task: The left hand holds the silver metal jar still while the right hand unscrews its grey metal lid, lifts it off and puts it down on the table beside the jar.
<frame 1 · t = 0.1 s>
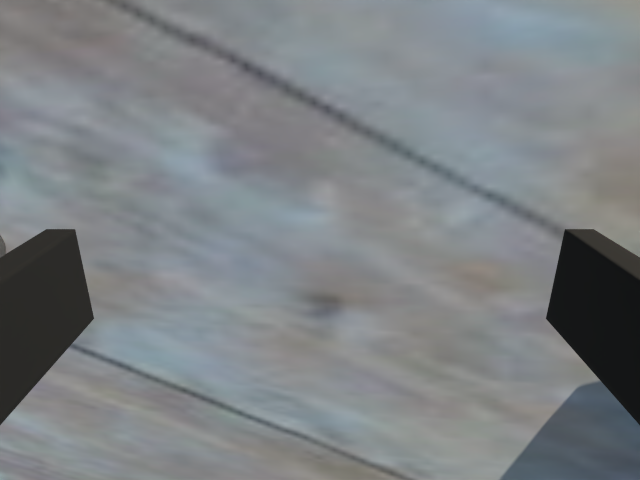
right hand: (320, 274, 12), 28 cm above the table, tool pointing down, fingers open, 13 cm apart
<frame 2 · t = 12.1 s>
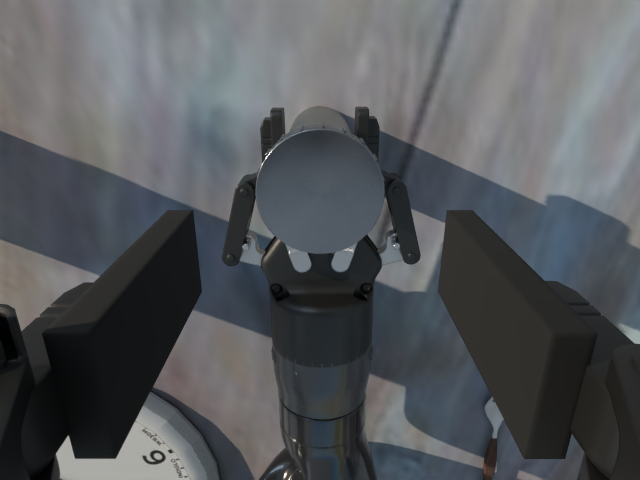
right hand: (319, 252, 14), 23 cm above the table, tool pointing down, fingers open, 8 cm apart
left hand: (320, 109, 28), fingers closed on jar, 4 cm apart
jar: (320, 137, 35), on the table, touching left hand
lid: (320, 192, 20), point 16 cm above the table, screwed on, not yet turned
fork: (490, 440, 46), on the table
wall clock: (80, 479, 48), on the table
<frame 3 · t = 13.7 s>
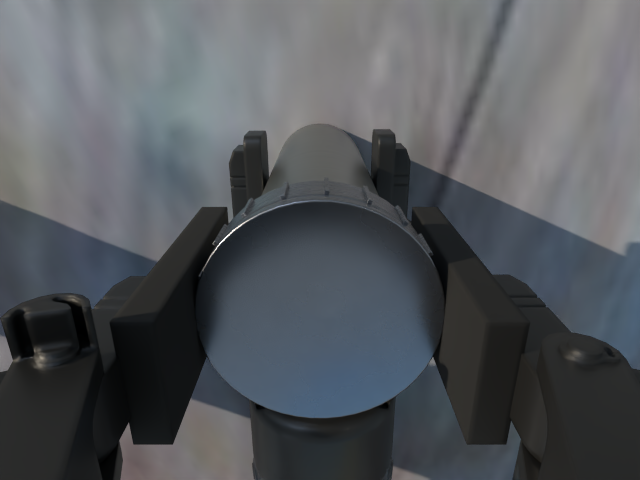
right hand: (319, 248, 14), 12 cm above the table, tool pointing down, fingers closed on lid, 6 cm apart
jar: (320, 165, 25), on the table, touching left hand
lid: (319, 312, 11), point 16 cm above the table, screwed on, not yet turned, touching right hand
when the right hand's fingers open (12 cm above the table, at t = 15.1 s): lid stays where it is, point 16 cm above the table.
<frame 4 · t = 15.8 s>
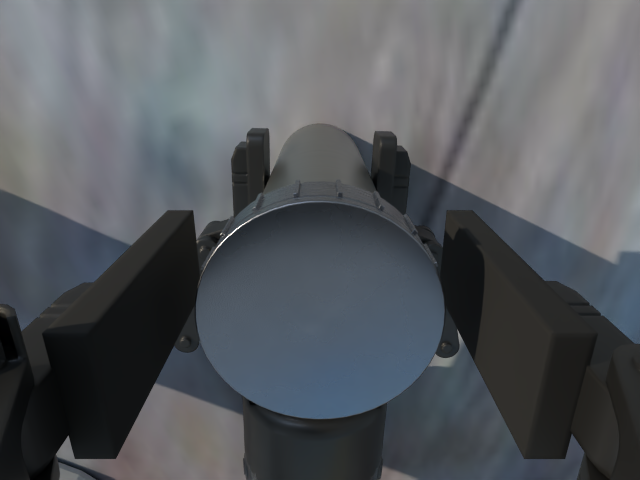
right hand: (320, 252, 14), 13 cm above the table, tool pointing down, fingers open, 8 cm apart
jar: (320, 165, 26), on the table, touching left hand
lid: (320, 313, 11), point 16 cm above the table, turned 72° so far, risen 0.2 cm, still on its thread
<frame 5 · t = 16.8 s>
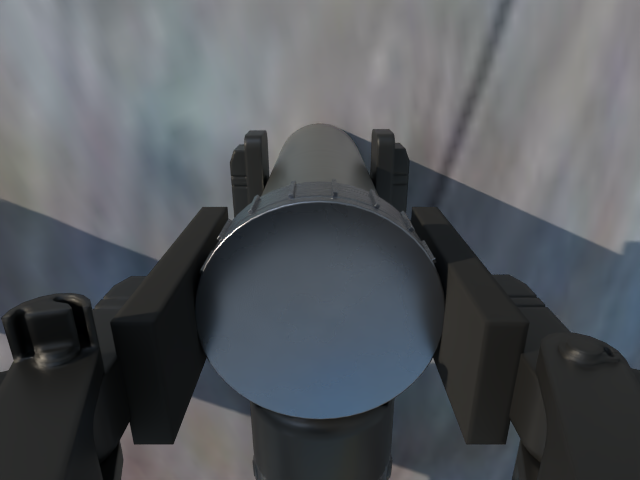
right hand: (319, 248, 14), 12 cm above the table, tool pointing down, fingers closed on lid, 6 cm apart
jar: (319, 165, 26), on the table, touching left hand
lid: (319, 313, 11), point 16 cm above the table, turned 72° so far, risen 0.2 cm, still on its thread, touching right hand
when the right hand's fingers open (0 cm above the table, at t = 23.9 s): lid drops 3 cm, point 1 cm above the table.
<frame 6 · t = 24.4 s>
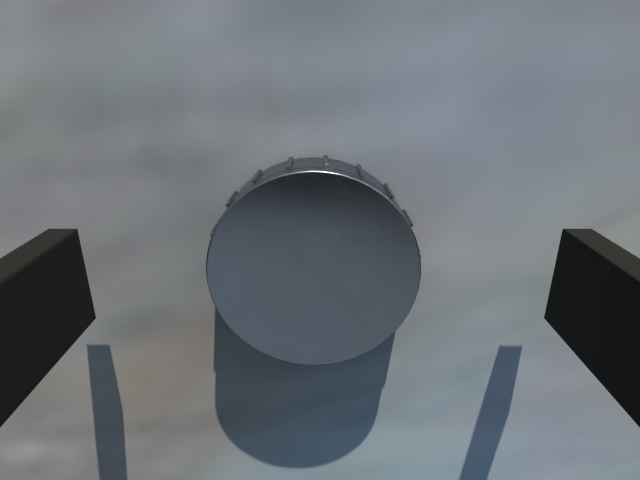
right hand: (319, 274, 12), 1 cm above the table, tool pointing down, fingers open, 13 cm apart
lid: (313, 270, 12), point 1 cm above the table, off its thread
when the left hand's fingers open (6 cm above the table, at t = 25.1 s): jar stays where it is, on the table.
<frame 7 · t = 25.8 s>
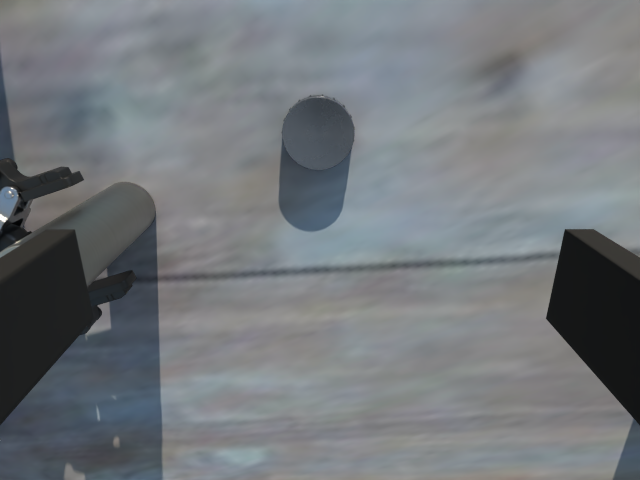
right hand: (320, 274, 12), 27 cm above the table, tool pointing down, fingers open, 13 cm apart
jar: (129, 207, 40), on the table
lid: (318, 133, 36), point 1 cm above the table, off its thread
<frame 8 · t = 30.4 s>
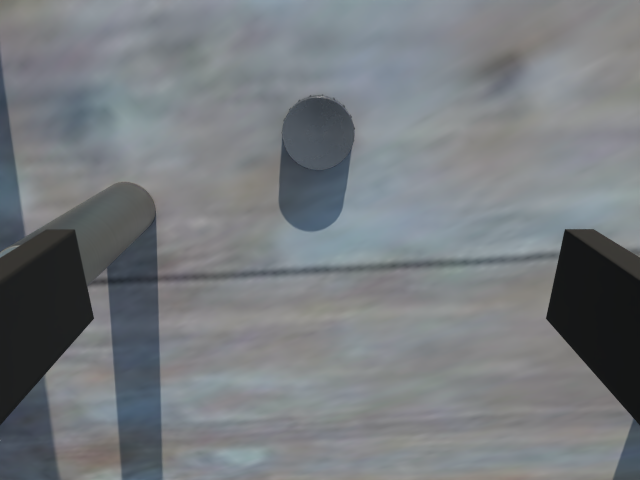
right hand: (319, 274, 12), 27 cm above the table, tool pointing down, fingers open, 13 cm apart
jar: (129, 207, 40), on the table
lid: (318, 133, 36), point 1 cm above the table, off its thread
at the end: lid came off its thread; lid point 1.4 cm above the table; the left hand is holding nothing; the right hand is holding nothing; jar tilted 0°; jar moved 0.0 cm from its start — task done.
